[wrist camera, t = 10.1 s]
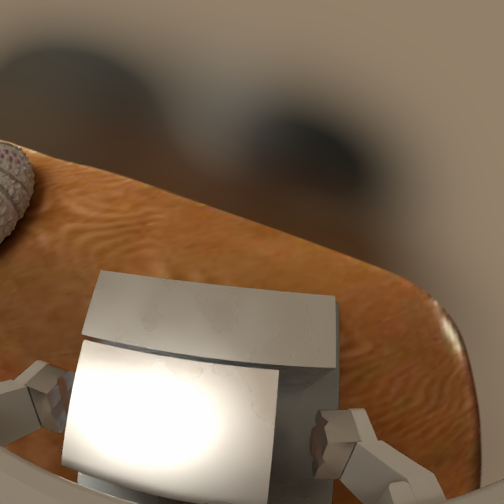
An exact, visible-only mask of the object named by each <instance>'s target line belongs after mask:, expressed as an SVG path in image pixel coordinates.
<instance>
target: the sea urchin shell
mask: <svg viewBox="0 0 504 504" xmlns="http://www.w3.org/2000/svg"><path fill="white" fill-rule="evenodd" d="M32 169H33V166H32V164H31V163H30V162H29V159H28V157H26V153H23V151H22V148H18V147H17V146H16V145H15V146H13V145H12V144H9V143H5V142H0V244H1V242H2V241H3V240H4V238H5V237H6V236H8V235H10V234H11V231H12V230H15V226H16V223H17V221H18V220H19V219H21V218H22V217H23V215H24V213H25V211H26V209H27V208H28V206H29V200H30V199H31V196H32V194H33V192H34V190H33V186H34V184H35V182H34V177H35V174H34V173H33V171H32Z"/></svg>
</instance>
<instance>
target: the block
mask: <svg viewBox="0 0 504 504" xmlns="http://www.w3.org/2000/svg"><path fill="white" fill-rule="evenodd" d="M278 377H279V370H272V369H260V368H249V367H239V366H230V365H221V364H213V363H206V362H198V361H191V360H185V359H178V358H172V357H166V356H160V355H154V354H149V353H143V352H138V351H133V350H128V349H123V348H118V347H114V346H109V345H105V344H100V343H96V342H92V341H88V340H84V341H83V345H82V349H81V353H80V357H79V361H78V366H77V370H76V375H75V379H74V384H73V389H72V394H71V400H70V405H69V411H68V417H67V423H66V429H65V436H64V444H63V452H62V461H61V465H63V466H65V467H68V468H70V469H73V470H75V471H78V472H80V473H83V474H86V475H88V476H91V477H94V478H97V479H100V480H103V481H106V482H109V483H112V484H115V485H118V486H122V487H125V488H128V489H132V490H136V491H139V492H143V493H147V494H151V495H156V496H160V497H165V498H169V499H174V500H179V501H185V502H190V503H197V504H267V499H268V490H269V481H270V471H271V461H272V450H273V439H274V428H275V416H276V404H277V391H278Z"/></svg>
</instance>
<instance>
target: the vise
mask: <svg viewBox="0 0 504 504" xmlns="http://www.w3.org/2000/svg"><path fill="white" fill-rule="evenodd" d="M82 335H83V336H84V337H86V338H87V339H88V340H90V341H92V342H96V343H100V344H105V345H109V346H114V347H118V348H123V349H128V350H133V351H138V352H143V353H149V354H154V355H160V356H166V357H172V358H178V359H185V360H191V361H198V362H206V363H213V364H221V365H230V366H239V367H249V368H260V369H272V370H279V377H278V391H277V404H276V416H275V428H274V439H273V450H272V461H271V471H270V481H269V490H268V499H267V504H331V503H332V494H333V484H334V479H314V478H313V471H312V465H311V464H312V461H313V457H312V456H311V455H310V451H309V440H310V434H311V430H312V428H313V427H314V426H315V425H316V422H315V416H316V413H317V411H318V409H339V373H340V329H339V303H338V302H335V296H330V295H318V294H306V293H295V292H284V291H273V290H263V289H253V288H243V287H233V286H224V285H215V284H206V283H197V282H188V281H180V280H172V279H164V278H156V277H148V276H140V275H133V274H125V273H118V272H111V271H104V270H101V271H100V274H99V277H98V280H97V283H96V286H95V289H94V293H93V296H92V299H91V302H90V306H89V309H88V312H87V316H86V319H85V323H84V327H83V330H82ZM77 484H80V485H83V486H85V487H88V488H91V489H93V490H96V491H99V492H102V493H105V494H108V495H111V496H114V497H117V498H120V499H124V500H127V501H130V502H134V503H138V504H197V503H190V502H185V501H179V500H174V499H169V498H165V497H160V496H156V495H151V494H147V493H143V492H139V491H136V490H132V489H128V488H125V487H122V486H118V485H115V484H112V483H109V482H106V481H103V480H100V479H97V478H94V477H91V476H88V475H86V474H83V473H80V472H78V480H77Z"/></svg>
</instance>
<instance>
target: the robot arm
mask: <svg viewBox="0 0 504 504" xmlns="http://www.w3.org/2000/svg"><path fill="white" fill-rule="evenodd" d="M74 379H75V374H74V373H73V372H72V371H70V370H67V369H64V368H61V367H58V366H56V365H53V364H49V363H47V362H44V361H41V360H37V361H35V362H34V363H33V364H32V365H31V366H30V367H28V368H27V369H26V370H25V371H24V372H23V373H22V374H20V375H19V376H18V377H17V378H16V379H15V380H14V381H13V380H11V379H10V380H7V381H3V382H0V504H138V503H134V502H130V501H127V500H124V499H120V498H117V497H114V496H111V495H108V494H105V493H102V492H99V491H96V490H93V489H91V488H88V487H85V486H83V485H80V484H77V483H75V482H72V481H70V480H68V479H65V478H63V477H61V476H58V475H56V474H54V473H52V472H49V471H47V470H45V469H43V468H41V467H39V466H37V465H35V464H33V463H31V462H29V461H27V460H25V459H23V458H21V457H20V456H18V455H16V454H14V453H12V452H11V451H9V450H7V449H5V447H4V446H5V445H7V444H9V443H11V442H13V441H15V440H18V439H20V438H22V437H24V436H26V435H28V434H30V433H32V432H34V431H36V430H38V429H40V428H41V427H44V428H46V429H49V430H51V431H54V432H56V433H59V434H61V433H62V431H63V430H64V429H65V427H66V423H67V417H68V411H69V405H70V400H71V394H72V389H73V384H74ZM315 422H316V425H315V426H314V427H313V428H312V430H311V434H310V440H309V451H310V455H311V456H312V457H313V461H312V464H311V465H312V471H313V478H314V479H340V481H341V482H342V483H343V484H344V485H345V486H346V487H347V488H348V489H349V490H350V491H351V492H352V493H353V494H354V495H355V496H356V497H357V498H358V499H359V500H360V502H361V503H362V504H504V479H502V480H499V481H497V482H495V483H492V484H490V485H487V486H485V487H482V488H480V489H477V490H475V491H472V492H469V493H466V494H463V495H460V496H457V497H454V498H451V499H448V500H447V499H446V497H445V495H444V493H443V491H442V489H441V487H440V485H439V483H438V481H437V479H436V477H435V475H434V473H432V472H430V471H429V470H427V469H425V468H424V467H422V466H421V465H419V464H417V463H416V462H414V461H413V460H411V459H410V458H408V457H406V456H405V455H403V454H402V453H400V452H399V451H397V450H396V449H394V448H393V447H391V446H390V445H388V444H387V443H385V442H384V441H382V440H381V441H378V440H377V437H376V435H375V432H374V430H373V427H372V425H371V422H370V420H369V418H368V415H367V413H366V410H365V409H363V408H357V409H318V411H317V413H316V416H315Z"/></svg>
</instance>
